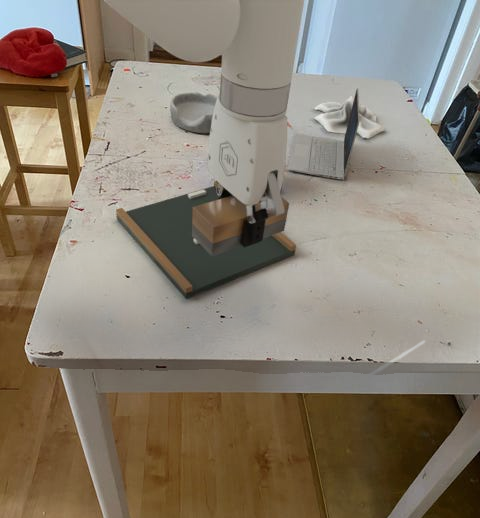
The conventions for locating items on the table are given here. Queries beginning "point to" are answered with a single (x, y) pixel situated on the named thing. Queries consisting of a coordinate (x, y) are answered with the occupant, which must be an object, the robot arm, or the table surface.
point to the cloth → (347, 118)
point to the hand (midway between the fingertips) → (239, 230)
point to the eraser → (228, 224)
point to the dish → (193, 111)
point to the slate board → (195, 245)
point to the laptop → (325, 150)
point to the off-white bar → (197, 194)
